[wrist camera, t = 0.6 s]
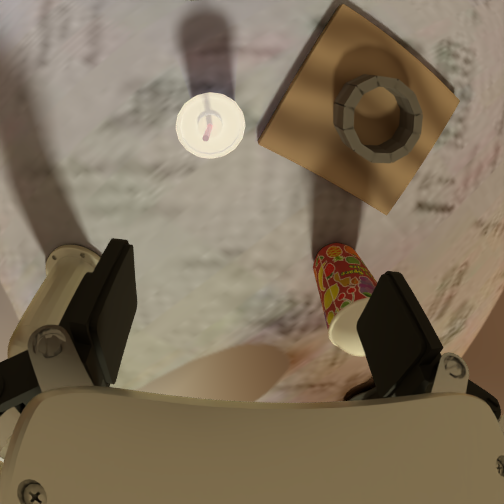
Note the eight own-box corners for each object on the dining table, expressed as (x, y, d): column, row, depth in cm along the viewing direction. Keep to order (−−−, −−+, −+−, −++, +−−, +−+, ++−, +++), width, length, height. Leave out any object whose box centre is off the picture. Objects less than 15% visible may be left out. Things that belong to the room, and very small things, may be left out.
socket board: (382, 210, 41) (397, 227, 37) (257, 141, 35) (261, 152, 31) (453, 99, 32) (476, 106, 28) (338, 5, 26) (354, -2, 22)
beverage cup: (250, 98, 32) (261, 115, 21) (230, 144, 35) (229, 188, 24) (200, 79, 31) (180, 86, 19) (181, 127, 34) (153, 162, 22)
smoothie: (369, 245, 44) (430, 347, 28) (341, 286, 48) (382, 392, 32) (323, 226, 42) (376, 336, 25) (296, 272, 46) (326, 387, 30)
